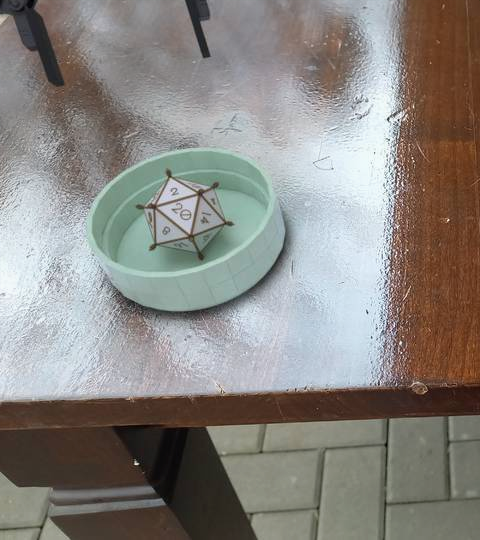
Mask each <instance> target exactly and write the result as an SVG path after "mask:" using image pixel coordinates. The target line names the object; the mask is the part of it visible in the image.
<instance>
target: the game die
mask: <svg viewBox="0 0 480 540" xmlns="http://www.w3.org/2000/svg"><path fill="white" fill-rule="evenodd" d="M165 173H166V175H167V176H168V178H167V180H166V181H165V182H164V183H163V184H162V185H161V187H160V188H159V189H158V190H157V191H156V192H155V194H154V195H153V196H152V197H151V198H150V199H149V201H148V202H147V203H146V204H145V205H144V206H142V205H140V204H138V205H136V206H135V207H136V208H137V209H140V210H141V209H143V210H144V213H145V216H146V219H147V222H148V225H149V228H150V231H151V235H152V238H153V241H154V244H153V245H151V246H149V247H150V248H149V251H152V250H154V249H155V248H156V246H162V247H167V248H172V249H178V250H183V251H188V252H193V253H198V257H199V259H200V260H202V261H203V258H204V256H203V254H202V253H201V252H202V251H203V250H204V248H205V247H206V246H207V245H208V244H209V243H210V242H211V241H212V239H213V238H214V237H215V236H216V235H217V234H218V233H219V231H220V230H221V229H222V228H223V227H224V226H225V225H228V226H230V227H231V226H233V225H235V224H234V223H232V221H231V222H230V221H226V220H225V217H224V214H223V212H222V209H221V206H220V203H219V201H218V198H217V195H216V192H215V190H214V189H215V188H217V187H218V186H219V182H214V184H213V186H208V185H204V184H200V183H196V182H192V181H188V180H184V179H180V178H176V177H173V176H171V174H172V173H171V171H170V170H169V169H166V172H165Z"/></svg>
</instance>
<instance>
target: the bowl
mask: <svg viewBox="0 0 480 540" xmlns="http://www.w3.org/2000/svg"><path fill="white" fill-rule="evenodd" d="M166 169H169V170H170V171H171V173H172V174H171V176H173V177H176V178H180V179H184V180H188V181H192V182H196V183H200V184H204V185H208V186H213V184H214V182H219V186H218V187H217V188H215V189H214V190H215V192H216V195H217V198H218V201H219V203H220V206H221V209H222V212H223V214H224V217H225V220H226V221H230V222H231V221H232V223H234V224H235V225H233V226H231V227H230V226H228V225H225V226H224V227H223V228H222V229H221V230H220V231H219V233H218V234H217V235H216V236H215V237H214V238H213V239H212V241H211V242H210V243H209V244H208V245H207V246H206V247H205V248H204V250H203V251H202V252H201V253H202V254H203V256H204V258H203V261H202V260H200V259H199V257H198V253H193V252H188V251H183V250H178V249H172V248H167V247H162V246H156V248H155V249H154V250H152V251H149V248H150V247H149V246H151V245H153V244H154V241H153V238H152V235H151V231H150V228H149V225H148V222H147V219H146V216H145V213H144V210H143V209H141V210H140V209H137V208H136V207H135V206H136V205H138V204H140V205H142V206H144V205H145V204H146V203H147V202H148V201H149V199H150V198H151V197H152V196H153V195H154V194H155V192H156V191H157V190H158V189H159V188H160V187H161V185H162V184H163V183H164V182H165V181H166V180H167V178H168V176H167V175H166V173H165V172H166ZM275 187H276V186H275V183H274V180H272V178H271V176H270V175H269V173H268V171H266V169H265V167H263V166H262V165H260V164H259V163H258V162H256V161H255V160H254V159H252V158H251V157H249V156H246V155H245V154H242V153H239V152H236V151H234V150H230V149H224V148H217V147H187V148H182V149H176V150H170V151H165V152H163V153H161V154H157V155H154V156H152V157H151V156H150V157H149V158H146V159H143V160H142V161H140V162H137V163H135V164H133V165H132V166H130V167H128V168H127V169H125V170H123V171H122V172H121V173H119V174H118V175H117V176H115V177H114V178H113V179H112V180H111V181H109V182H108V183H107V184H105V186H104V188H102V190H101V191H100V192H99V193H98V194H97V196H96V197H95V198H94V200H93V201H92V203H91V206H90V208H89V211H88V213H87V215H86V218H85V219H86V220H85V234H84V235H85V237H86V240H87V243H88V245H89V247H90V250H91V252H92V253H93V255H94V257H95V259H96V260H97V262H98V263H99V265H100V266H101V268H102V270H103V271H104V273H105V274H106V276H107V277H108V280H109V281H110V283H111V284H112V286H114V287H115V288H116V289H117V291H119V293H121V294H122V295H123V296H124V297H125V298H127V299H129V300H131V301H133V302H135V303H137V304H139V305H140V306H143V307H147V308H151V309H155V310H160V311H167V312H190V311H191V312H193V311H199V310H203V309H208V308H211V307H215V306H219V305H221V304H223V303H226V302H229V301H231V300H233V299H235V298H237V297H239V296H241V295H243V294H244V293H246V292H247V291H249V290H250V289H252V287H254V286H255V285H257V284H258V283H259V282H260V281H261V280H262V279H263V278H264V277H265V276H266V275H267V274H268V273H269V271H270V270H271V269H272V267H273V266H274V264H275V262H276V261H277V259H278V257H279V255H280V253H281V251H282V249H283V247H284V243H285V242H284V241H285V236H286V226H285V221H284V215H283V213H282V208H281V206H280V202H279V199H278V198H279V197H278V195H277V192H276V188H275Z"/></svg>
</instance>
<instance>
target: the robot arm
mask: <svg viewBox="0 0 480 540" xmlns="http://www.w3.org/2000/svg"><path fill="white" fill-rule="evenodd" d="M38 2H39V0H0V15H1V16H2V15H9V16H12V18H13V21H14V23H15V26H16V29H17V31H18V35H19V38H20V40H21V43H22V44H23V46H24V48H26V49H27V50H29V51H30V52H31V53H33V52H38V55H39V58H40V62H41V64H42V67H43V71H44V73H45V75H46V76H45V77H46V79H47V81H48V82H49V83H50V84H52V85H53V86H55V87H56V88H57V87H63V86H64V87H65V86H66V84H65V80H64V78H63V73H62V72H61V69H60V65H59V63H58V59H57V56H56V54H55V50H54V48H53V44H52V42H51V39H50V35H49V33H48V30H47V26H46V24H45V21H44V18H43V16H42V15H41V14H40V13H39V12H38V11H37V10H35V8H36V6H37V4H38ZM184 2H185V5H186V8H187V12H188V14H189V18H190V21H191V24H192V28H193V31H194V34H195V37H196V40H197V43H198V48H199V50H200V53H201V57H202V59H208V58H212V56H211V53H210V48H209V46H208V43H207V39H206V36H205V33H204V29H203V27H202V24H201V22H206V21H211V12H210V8H209V4H208V1H207V0H184Z"/></svg>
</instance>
